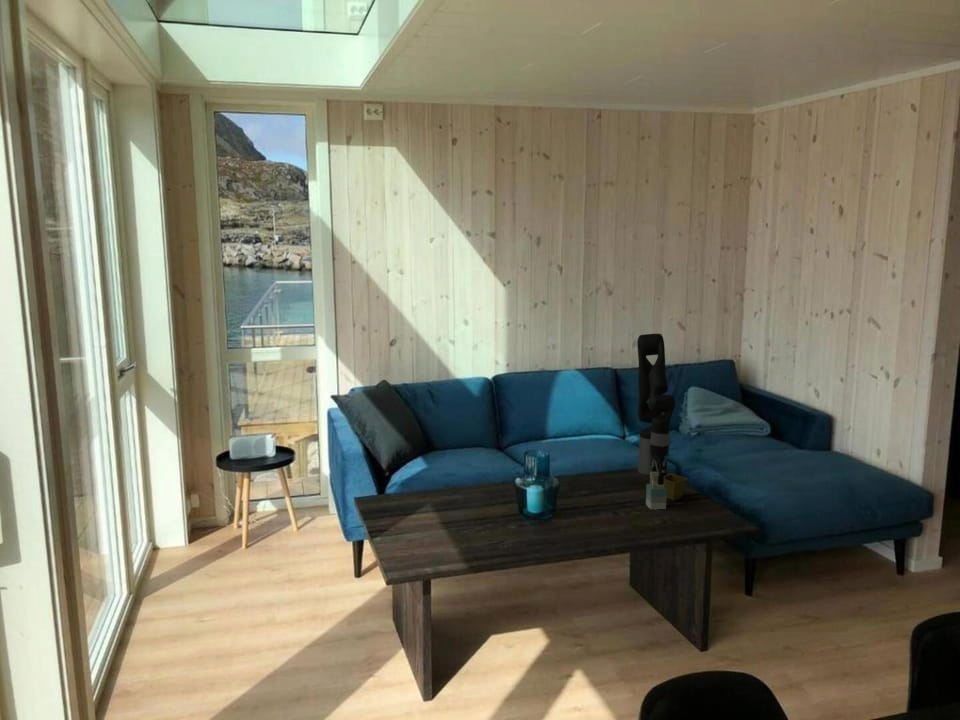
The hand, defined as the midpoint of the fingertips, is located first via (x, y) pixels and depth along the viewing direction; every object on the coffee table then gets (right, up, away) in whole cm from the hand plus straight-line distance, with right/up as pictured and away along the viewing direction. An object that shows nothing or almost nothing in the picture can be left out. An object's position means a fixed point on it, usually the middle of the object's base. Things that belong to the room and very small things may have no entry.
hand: (657, 481), depth 315 cm
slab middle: (0, -8, +1) cm, 8 cm away
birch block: (0, -2, 0) cm, 2 cm away
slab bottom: (0, -11, +2) cm, 11 cm away
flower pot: (+9, -9, +12) cm, 18 cm away
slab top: (0, -5, +1) cm, 5 cm away
